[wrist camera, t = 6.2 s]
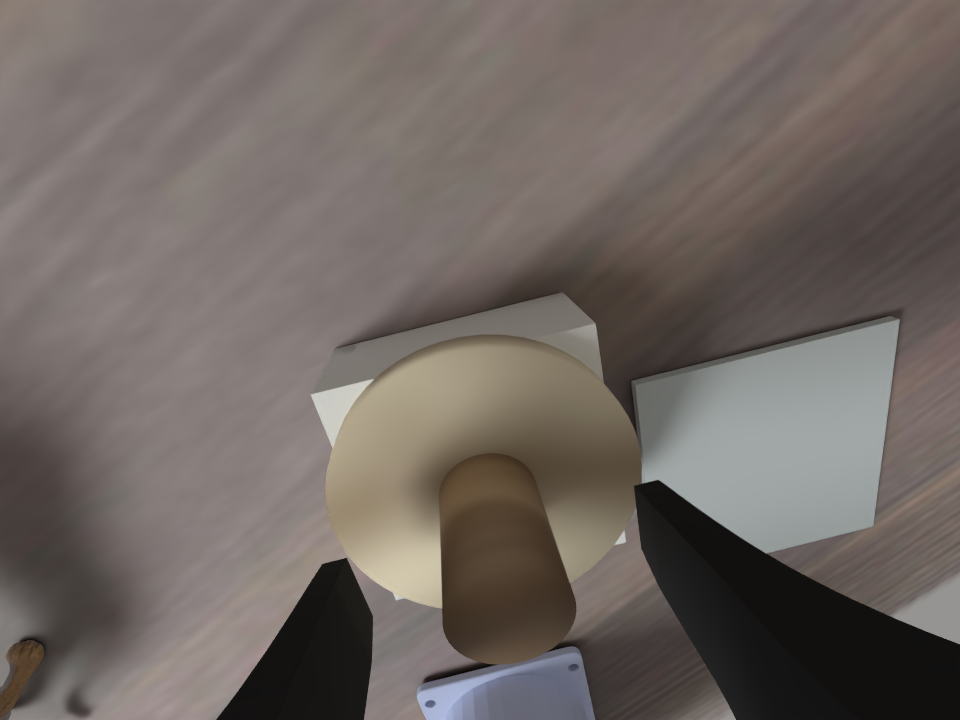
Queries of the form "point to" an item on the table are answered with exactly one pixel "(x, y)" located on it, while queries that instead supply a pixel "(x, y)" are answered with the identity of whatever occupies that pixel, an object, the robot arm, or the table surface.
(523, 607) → the lid
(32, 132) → the table surface
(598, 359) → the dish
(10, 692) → the lion figurine
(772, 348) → the mat
